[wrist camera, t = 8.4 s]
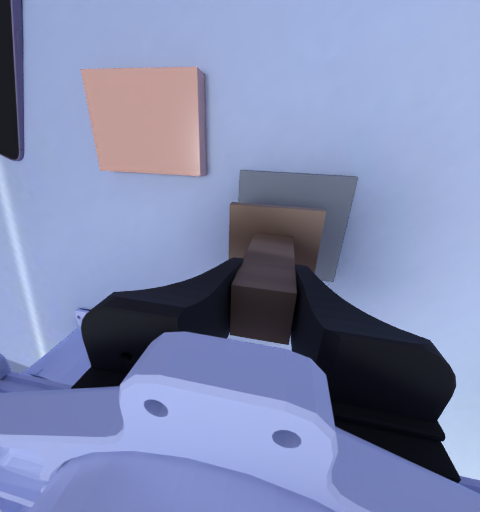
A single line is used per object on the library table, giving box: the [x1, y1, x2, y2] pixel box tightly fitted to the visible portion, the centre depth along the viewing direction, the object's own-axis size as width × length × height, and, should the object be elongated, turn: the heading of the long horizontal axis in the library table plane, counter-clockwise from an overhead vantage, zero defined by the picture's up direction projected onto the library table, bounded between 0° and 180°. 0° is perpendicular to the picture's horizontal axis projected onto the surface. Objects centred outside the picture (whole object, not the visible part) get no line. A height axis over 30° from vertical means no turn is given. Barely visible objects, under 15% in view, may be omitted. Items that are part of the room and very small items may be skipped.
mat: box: [239, 170, 358, 282], centre depth 20 cm, size 9×9×1 cm
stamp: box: [229, 202, 326, 345], centre depth 13 cm, size 6×6×8 cm
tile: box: [81, 67, 206, 176], centre depth 18 cm, size 2×9×7 cm
